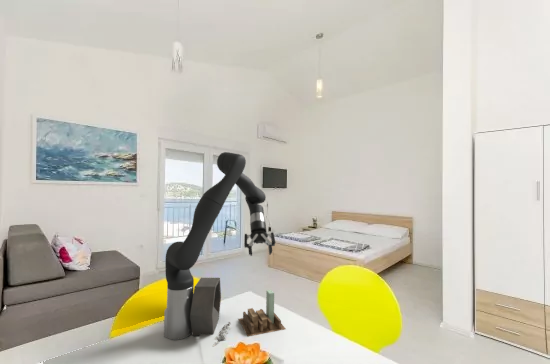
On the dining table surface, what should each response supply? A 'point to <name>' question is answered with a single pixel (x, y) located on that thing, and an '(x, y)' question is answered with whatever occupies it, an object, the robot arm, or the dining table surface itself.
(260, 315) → the offcut
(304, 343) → the dining table surface
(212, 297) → the planter
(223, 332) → the white statue
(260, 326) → the rack
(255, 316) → the offcut
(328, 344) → the dining table surface
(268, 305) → the pale green block
